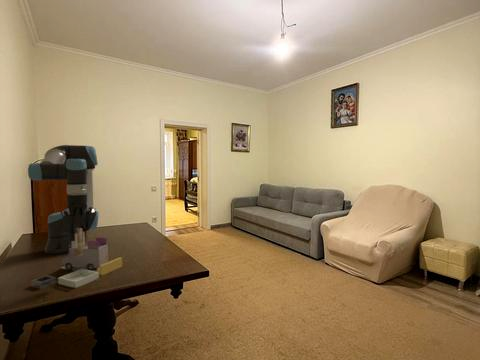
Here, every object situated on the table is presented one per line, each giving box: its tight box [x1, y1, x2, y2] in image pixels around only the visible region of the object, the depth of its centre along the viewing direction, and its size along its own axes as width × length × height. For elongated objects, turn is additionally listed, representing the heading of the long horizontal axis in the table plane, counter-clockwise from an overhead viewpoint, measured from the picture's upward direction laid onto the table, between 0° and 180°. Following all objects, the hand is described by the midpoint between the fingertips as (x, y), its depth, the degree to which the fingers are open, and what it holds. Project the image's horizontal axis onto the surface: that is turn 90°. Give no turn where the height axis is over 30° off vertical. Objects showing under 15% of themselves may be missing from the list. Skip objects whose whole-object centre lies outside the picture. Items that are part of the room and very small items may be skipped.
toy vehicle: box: [60, 236, 110, 271], centre depth 130 cm, size 9×20×15 cm, turn 87°
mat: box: [60, 267, 101, 277], centre depth 132 cm, size 26×14×1 cm, turn 68°
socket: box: [30, 274, 57, 290], centre depth 112 cm, size 6×6×2 cm
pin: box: [74, 228, 83, 256], centre depth 115 cm, size 3×3×12 cm
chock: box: [97, 257, 123, 276], centre depth 127 cm, size 3×12×4 cm, turn 158°
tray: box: [57, 269, 100, 289], centre depth 115 cm, size 11×11×3 cm
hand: (78, 246), depth 115 cm, fingers closed on pin, 3 cm apart
